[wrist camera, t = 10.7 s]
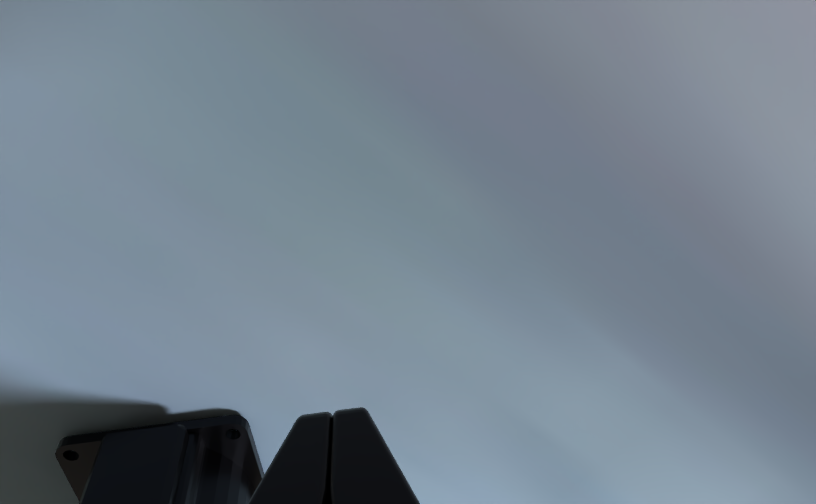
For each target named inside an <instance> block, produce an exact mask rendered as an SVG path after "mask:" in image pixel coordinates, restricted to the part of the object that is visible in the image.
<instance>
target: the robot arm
mask: <svg viewBox="0 0 816 504" xmlns="http://www.w3.org/2000/svg"><path fill="white" fill-rule="evenodd" d="M230 429H236V430H237V431H232V430H230ZM71 450H73V451H75V452H73V451H71ZM55 454H56V458H57V460H58V462H59V464H60V466H61V467H62V469H63V471H64V473H65V475H66V477H67V479H68V481H69V483H70V484H71V486H72V488H73V490H74V492H75V494H76V496H77V498H78V500H79V504H420V503H419V501H418V500H417V498H416V496H415V494H414V492H413V491H412V489H411V487H410V485H409V484H408V482H407V480H406V478H405V476H404V475H403V473H402V471H401V469H400V468H399V466H398V464H397V462H396V460H395V459H394V457H393V455H392V453H391V452H390V450H389V448H388V446H387V444H386V443H385V441H384V439H383V437H382V436H381V434H380V432H379V430H378V428H377V427H376V425H375V423H374V421H373V420H372V418H371V416H370V414H369V412H368V411H367V410H366V409H365V408H363V407H360V408H352V409H344V410H338V411H336V412H335V413H334V415H332V414H331V413H329V412H321V413H314V414H306V415H302V416H300V417H299V418H298V419H297V420H296V422H295V423H294V425H293V427H292V429H291V430H290V432H289V434H288V435H287V437H286V439H285V441H284V442H283V444H282V446H281V447H280V449H279V451H278V452H277V454H276V456H275V458H274V459H273V461H272V463H271V464H270V466H269V468H268V470H267V471H266V473H265V475H264V472H263V468H262V465H261V462H260V458H259V455H258V452H257V449H256V445H255V442H254V439H253V435H252V432H251V429H250V426H249V423H248V421H247V420H246V419H245V418H243V417H241V416H238V415H229V416H221V417H213V418H206V419H198V420H191V421H183V422H175V423H168V424H160V425H152V426H145V427H137V428H129V429H122V430H114V431H107V432H99V433H91V434H84V435H76V436H69V437H66V438H63V439H62V440H61V441H60V443H59V446H58V448H57V451H56V453H55Z"/></svg>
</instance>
